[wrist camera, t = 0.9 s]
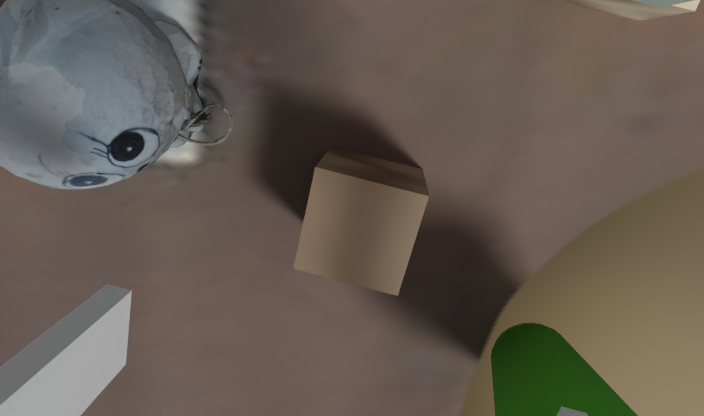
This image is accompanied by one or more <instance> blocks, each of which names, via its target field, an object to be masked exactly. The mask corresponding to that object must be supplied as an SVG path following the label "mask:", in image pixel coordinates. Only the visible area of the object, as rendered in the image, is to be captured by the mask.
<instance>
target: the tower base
mask: <svg viewBox="0 0 704 416" xmlns="http://www.w3.org/2000/svg"><path fill="white" fill-rule="evenodd" d="M559 1H563V2H567V3H571V4H575V5H579V6H583V7H587V8H591V9H595V10H599V11H603V12H607V13H611V14H615V15H619V16H623V17H627V18H631V19H635V20H645V19H651V18H657V17H663V16H669V15H675V14H681V13H688V12H694V11H696V8H697V6H698V4H699V2H700V0H694V1H689V2H684V3H679V4H674V5H669V6H665V7H660V8H657V7H654V6H650V5H647V4H643V3H640V2H636V1H633V0H559Z"/></svg>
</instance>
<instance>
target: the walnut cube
mask: <svg viewBox="0 0 704 416" xmlns="http://www.w3.org/2000/svg"><path fill="white" fill-rule="evenodd" d="M428 198H429V194H428V190H427V186H426V181H425V177H424V173H423V169H420V168H417V167H413V166H409V165H405V164H401V163H397V162H393V161H389V160H385V159H381V158H378V157H374V156H370V155H366V154H362V153H358V152H354V151H350V150H346V149H342V148H339V147H335V146H331V147H330V148H329V150H328V151H327V152H326V154H325V155H324V156H323V157H322V159H321V160H320V161H319V163H318V164H317V165H316V167H315V170H314V175H313V180H312V184H311V189H310V193H309V198H308V203H307V207H306V212H305V217H304V221H303V226H302V231H301V235H300V240H299V245H298V249H297V254H296V259H295V263H294V268H293V269H296V270H300V271H304V272H307V273H311V274H315V275H319V276H323V277H327V278H330V279H334V280H338V281H342V282H346V283H350V284H353V285H357V286H361V287H365V288H369V289H373V290H376V291H380V292H384V293H388V294H392V295H396V296H398V294H399V290H400V287H401V284H402V281H403V278H404V275H405V271H406V268H407V265H408V262H409V259H410V255H411V252H412V249H413V246H414V243H415V240H416V236H417V233H418V230H419V227H420V224H421V220H422V217H423V214H424V211H425V208H426V205H427V201H428Z"/></svg>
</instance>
